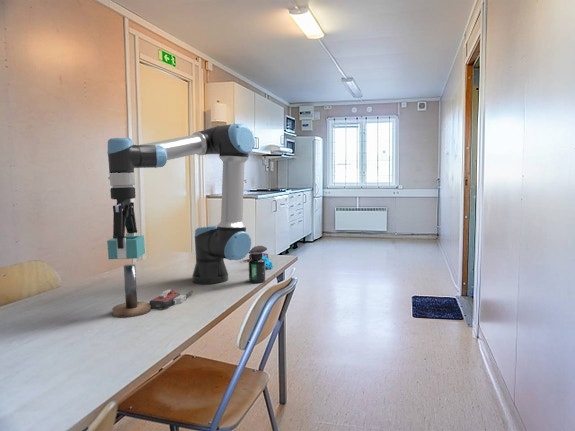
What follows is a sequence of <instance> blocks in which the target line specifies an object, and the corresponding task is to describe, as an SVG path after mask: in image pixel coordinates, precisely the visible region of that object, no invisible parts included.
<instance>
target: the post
mask: <svg viewBox="0 0 575 431" xmlns="http://www.w3.org/2000/svg"><path fill="white" fill-rule="evenodd" d="M123 278H124V297H125V303H126V308H127V309H132V308H136V307H137V302H138V291H137V290H138V289H137V271H136V264H132V263H131V264H125V265H123Z"/></svg>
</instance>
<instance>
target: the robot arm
mask: <svg viewBox="0 0 575 431" xmlns="http://www.w3.org/2000/svg"><path fill="white" fill-rule="evenodd" d="M255 145H256V140H255V135H254V133H253V130H251V128H250V127H249V126H248V125H247V124H244V123H231V124H224V125H223V124H222V125H217V126H213V127H210V128H207V129H203V130H199V131H195V132H193V133H192V135H191V134H190V135H188V136H187V135H186V136H180V137H175V138H170V139H164V140H158V141H153V142H147V143H143V144H134V143H133V140H132V139H131V138H129V137H111V138H109V139H108V140H107V151H106V152H107V153H106V154H107V157H108V158H107V159H108V174H109V176H108V177H107V179H108V180H109V185H110V186H111V188H110V189H109V192H110V199H111V200H116V205H113V206H112V213H113V214H112V216H113V220H112V221H113V225H112V226H113V228H112V230H113V231H112V233H113V234H112V238H113V239H116V243H117V258H118V259H117V260H127V259H126V258H127V251H126V238H124V236H136V234H137V233H138V230H137V220H136V216H135V215H136V214H135V203H134V202H131V200H132V199H136V187H134V186H135V184H136V182H135V181H136V180H135V169H145V168H146V169H147V168H148V169H149V168H150V169H151V168H155V169H157V168H163V167H164V166H165V165H166V164H167V162H168V161H171V160H174V159H179V158H183V157H189V156H193V155H198V156H204V155H205V156H206V155H218V157H219V159H220V160H221V162H222V179H221V182H222V184H221V204H220V205H221V207H220V210H221V211H220V213H221V215H220V222H219V223H218V224H217V225H211V226H200V227H196V229H195V231H194V247H195V265H194V267H193V268H194V269H193V272H192V275H191V277H192V278H191V279H192V283H195V284H201V285H212V284H220V283H223V282H227V281H228V280H229V272H228V269H227V267H226V263H225V261H224V260H228V261H239V260H240V261H241V260H242V259H244V258H246V256H247V255H248V254H249V251H250V250H251V249H252V237H251V236H250V234H249V233H247V226H246V225H245V224H244V223H243V216H244V215H243V213H244V191H245V190H244V188H245V187H244V184H245V183H244V182H245V181H244V180H245V164H246V162H247V161H248V160H249V154H250V153H251V152H252V151H253V150H254V149H255Z"/></svg>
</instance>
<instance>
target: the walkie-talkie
mask: <svg viewBox="0 0 575 431" xmlns="http://www.w3.org/2000/svg"><path fill="white" fill-rule="evenodd" d="M174 290H175V289H165V290H164V291H162V292H161V294H158V295H157V296H155V297H154V298H153V299H151V300H149V302H148V303H149V304H150V305H151V310H152V309H154V310H167V309H169V308H170V307H172V306H175V305H176V306H177V305H179V304H182V303H184V302H186V301H187V297H189V296H191V295H192V294H193V293H194V290H190V291H189V292H187V293H186V294H181V293H180V292H175V291H174Z"/></svg>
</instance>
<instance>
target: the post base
mask: <svg viewBox="0 0 575 431" xmlns="http://www.w3.org/2000/svg"><path fill="white" fill-rule="evenodd" d="M151 310H152V309H151V305H150V304H149V302H147V301H137V307H136V308H132V309H127V308H126V302H124V303H120V304H117V305H115V306H113V307H112V310H111V311H112V316H114V317H116V318H117V317H118V318H134V317H139V316H143V315H145V314H147V313H150V311H151Z"/></svg>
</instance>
